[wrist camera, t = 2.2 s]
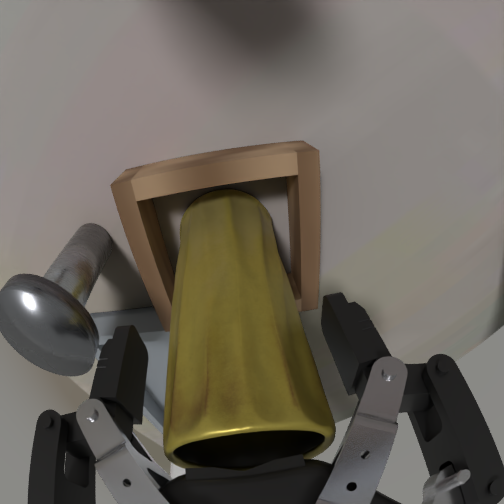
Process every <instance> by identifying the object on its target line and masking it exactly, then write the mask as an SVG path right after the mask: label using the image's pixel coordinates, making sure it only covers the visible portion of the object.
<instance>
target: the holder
mask: <svg viewBox="0 0 504 504" xmlns="http://www.w3.org/2000/svg"><path fill="white" fill-rule="evenodd" d="M283 176H286V182H287V197H288V214H289V233H290V254H291V273H288V274H287V277H288V280H289V283H290V286H291V289H292V292H293V295H294V299H295V302H296V306H297V309H298V312H302V311H307V310H312V309H317V308H318V293H319V269H320V159H319V150H317V149H316V148H314V147H312V146H311V145H309V144H308V143H306V142H304V141H292V142H281V143H271V144H263V145H254V146H247V147H239V148H232V149H225V150H219V151H213V152H207V153H201V154H196V155H190V156H185V157H180V158H175V159H170V160H165V161H161V162H156V163H152V164H147V165H143V166H139V167H135V168H131V169H127V170H125V171H124V172H123V173H122V174H121V175H120V176H119V177H118V178H117V179H116V180H115V181H114V182H113V183H112V184H111V185H110V186H111V189H112V193H113V196H114V199H115V203H116V206H117V209H118V212H119V216H120V219H121V222H122V225H123V228H124V231H125V234H126V237H127V239H128V242H129V245H130V248H131V251H132V253H133V256H134V259H135V261H136V264H137V267H138V269H139V272H140V274H141V277H142V280H143V282H144V285H145V287H146V289H147V292H148V294H149V297H150V299H151V301H152V304H153V306H154V308H155V311H156V313H157V315H158V317H159V320H160V322H161V324H162V326H163V328H164V331H165V332H170V323H171V310H172V300H173V293H174V283H175V275H174V272H173V269H172V266H171V263H170V259H169V256H168V253H167V250H166V246H165V243H164V240H163V236H162V233H161V229H160V226H159V222H158V219H157V215H156V211H155V208H154V204H153V200H152V198H154V197H159V196H164V195H169V194H174V193H179V192H185V191H190V190H196V189H201V188H207V187H213V186H219V185H226V184H232V183H239V182H245V181H252V180H260V179H267V178H275V177H283Z"/></svg>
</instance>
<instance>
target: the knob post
mask: <svg viewBox="0 0 504 504" xmlns="http://www.w3.org/2000/svg"><path fill="white" fill-rule="evenodd" d="M111 251H112V240H111V237H110V235H109V234H108V232H107V231H106V230H105V229H104V228H102V227H101V226H99V225H96V224H92V223H89V224H85V225H83V226H81V227H80V228H79V229H78V230H77V232H76V233H75V234H74V235H73V237H72V238H71V239H70V241H69V242H68V243H67V245H66V246H65V247H64V249H63V250H62V251H61V253H60V254H59V255H58V257H57V258H56V259H55V261H54V262H53V264H52V265H51V266H50V268H49V269H48V271H47V272H46V274H45V275H44V277H40V276H37V275H33V274H18V275H15V276H13V277H11V278H10V279H9V280H8V281H7V283H6V284H5V285H4V287H3V288H2V289H1V291H0V331H1V333H2V335H3V336H4V338H5V339H6V340H7V341H8V343H9V344H10V345H11V346H12V347H13V348H14V349H15V350H16V351H17V352H18V353H19V354H20V355H22V356H23V357H24V358H25V359H27V360H28V361H30V362H31V363H33V364H34V365H36V366H38V367H40V368H42V369H44V370H47V371H49V372H52V373H55V374H59V375H63V376H79V375H83V374H85V373H87V372H88V371H89V370H90V369H91V368H92V366H93V363H94V360H95V356H96V353H97V349H98V346H99V333H98V329H97V326H96V324H95V322H94V320H93V318H92V317H91V315H90V314H89V312H88V311H87V310H86V309H85V304H86V302H87V300H88V298H89V296H90V293H91V291H92V289H93V287H94V285H95V283H96V281H97V279H98V277H99V275H100V273H101V271H102V269H103V267H104V265H105V263H106V261H107V259H108V257H109V255H110V253H111Z"/></svg>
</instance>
